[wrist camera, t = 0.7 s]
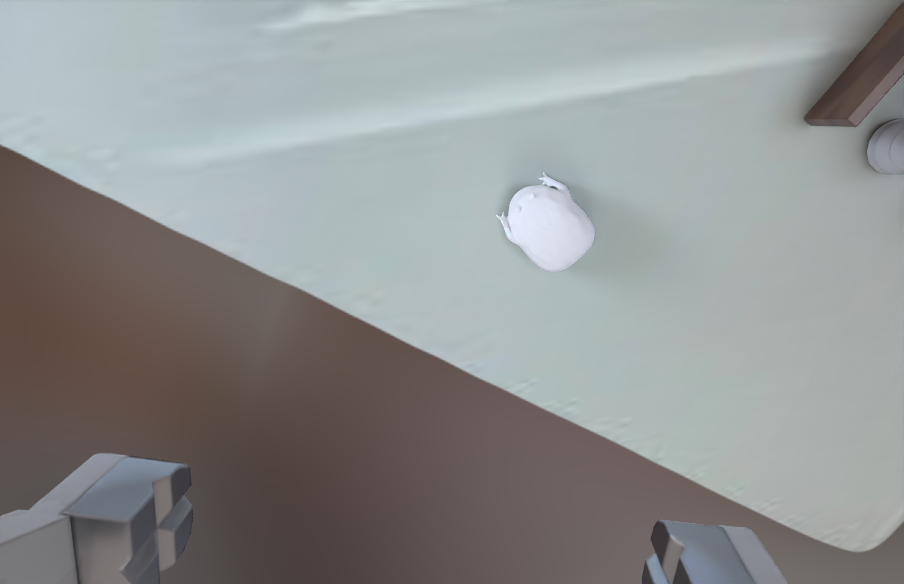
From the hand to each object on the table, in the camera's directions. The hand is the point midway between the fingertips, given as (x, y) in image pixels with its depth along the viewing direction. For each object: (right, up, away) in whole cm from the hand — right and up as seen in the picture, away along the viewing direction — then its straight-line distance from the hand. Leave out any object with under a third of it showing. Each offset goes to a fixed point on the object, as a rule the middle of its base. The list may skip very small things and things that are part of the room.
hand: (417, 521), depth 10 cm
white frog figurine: (+9, +10, +41) cm, 43 cm away
